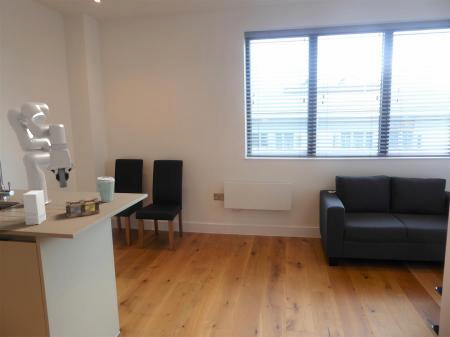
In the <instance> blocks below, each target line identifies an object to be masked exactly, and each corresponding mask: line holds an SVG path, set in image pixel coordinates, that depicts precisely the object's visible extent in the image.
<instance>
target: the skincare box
mask: <svg viewBox="0 0 450 337" xmlns="http://www.w3.org/2000/svg"><path fill="white" fill-rule="evenodd" d="M22 199H23V202H22V203H23V210H24V217H25V218H24V219H25V225H26V226H32V225H33V226H34V225H35V224H38V225H41V224H42V223H43V222H45V221H46V220H47V215H46V214H47V213H46V212H47V211H46V206H45V205H46V204H45V203H44V193H43V190H35V191H29V190H28V191H27V192H25V193H23V194H22Z"/></svg>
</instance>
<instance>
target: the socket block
mask: <svg viewBox="0 0 450 337" xmlns="http://www.w3.org/2000/svg"><path fill="white" fill-rule="evenodd" d="M100 211H101V210H100V202H99V199H98V198H97V197H96V198H89V199H81V200H72V201H71V200H70V201H66V202H65V212H66V214H65V215H66V218H67V219H69V218H76V217H77V218H78V217H83V216H89V215H90V216H91V215H97V214H98V215H99V214H100V213H101V212H100Z"/></svg>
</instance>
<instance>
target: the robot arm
mask: <svg viewBox="0 0 450 337" xmlns="http://www.w3.org/2000/svg"><path fill="white" fill-rule="evenodd" d="M49 114H50V109H49V106H48V105H47V104H46V103H44V102H36V101H35V102H34V101H33V102H31V101H30V102H28V101H27V102H23V103H22V104H21V105H20V107H14V108H10V109H8V110H7V113H6V116H7V121H8V124H9V126H10V127H11V129H12V130H13V132H14V133H15V136H16V138H17V141H18V143H19V146H20V148H21V151H22V152H24V153H26V154H24V155H23V158H22V162H23V166H24V168H25V171H26V172H25V173H26V179H27V186H28V187H27V188H28V192H29V191H35V190H43V193H44V203H45V205H48V204H51V203H52V200H51V199H50V198H49V197H48V189H47V188H48V187H47V180H46V174H45V172H44V171H43V170H42V168H47V169H46V170H48V171H50V172H52V173H53V174H55V180H56V181H57V182H59V174H58V169H60V168H65V172H66V180H67V182H68V180H69V179H70V175H69V173H70V172H71V171H72V170H73V169H75V168H76V165H75V164H74V163H73V161H72V159H71V153H70V150H69V148H68V146H67V137H66V129H65V125H64V124H62V123H60V124H59V123H56V124H55V123H52V124H51V123H49V124H48V123H46V124H45V122H46V121H47V117H48V116H49ZM26 123H27V124H26ZM20 200H21V201H20V202H21V203H24V202H23V198H21V199H20Z"/></svg>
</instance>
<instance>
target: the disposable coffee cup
mask: <svg viewBox="0 0 450 337" xmlns="http://www.w3.org/2000/svg"><path fill="white" fill-rule="evenodd" d="M115 182H116V181H115V178H114V177H113V176H98V177H97V178H96V184H97V188H98V192H99V197H100V200H101V202H102V203H110V202H112V201H113V199H114V191H115V190H114V189H115Z"/></svg>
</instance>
